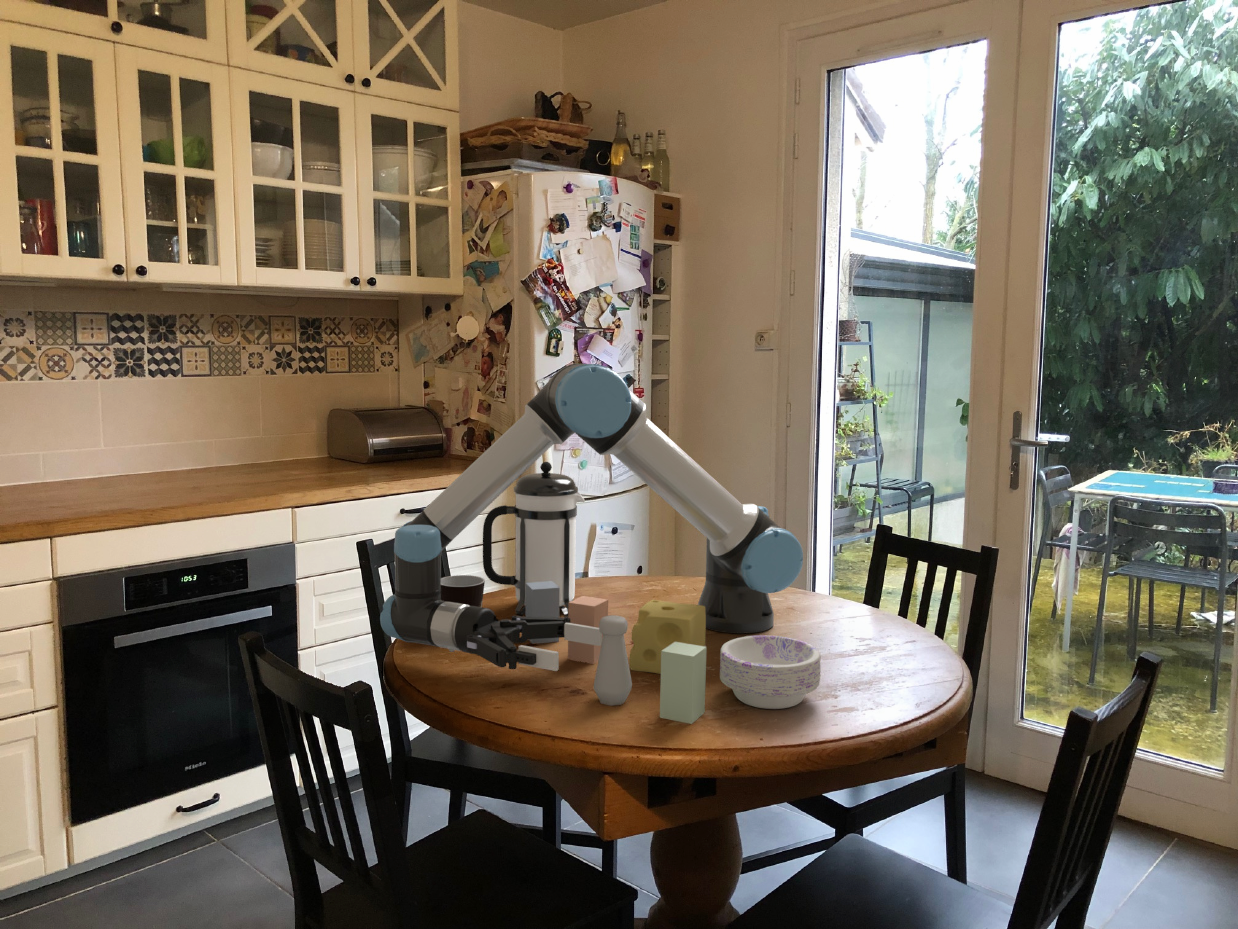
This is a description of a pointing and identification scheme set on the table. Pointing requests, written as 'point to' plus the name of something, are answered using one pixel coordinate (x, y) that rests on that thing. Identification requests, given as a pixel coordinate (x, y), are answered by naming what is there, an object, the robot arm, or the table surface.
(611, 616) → the salt shaker
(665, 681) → the sage block
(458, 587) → the coffee mug
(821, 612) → the table surface
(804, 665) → the paper bowls
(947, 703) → the table surface
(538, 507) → the coffee press
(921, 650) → the table surface
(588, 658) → the terracotta block
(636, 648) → the cheese
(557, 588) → the slate block
